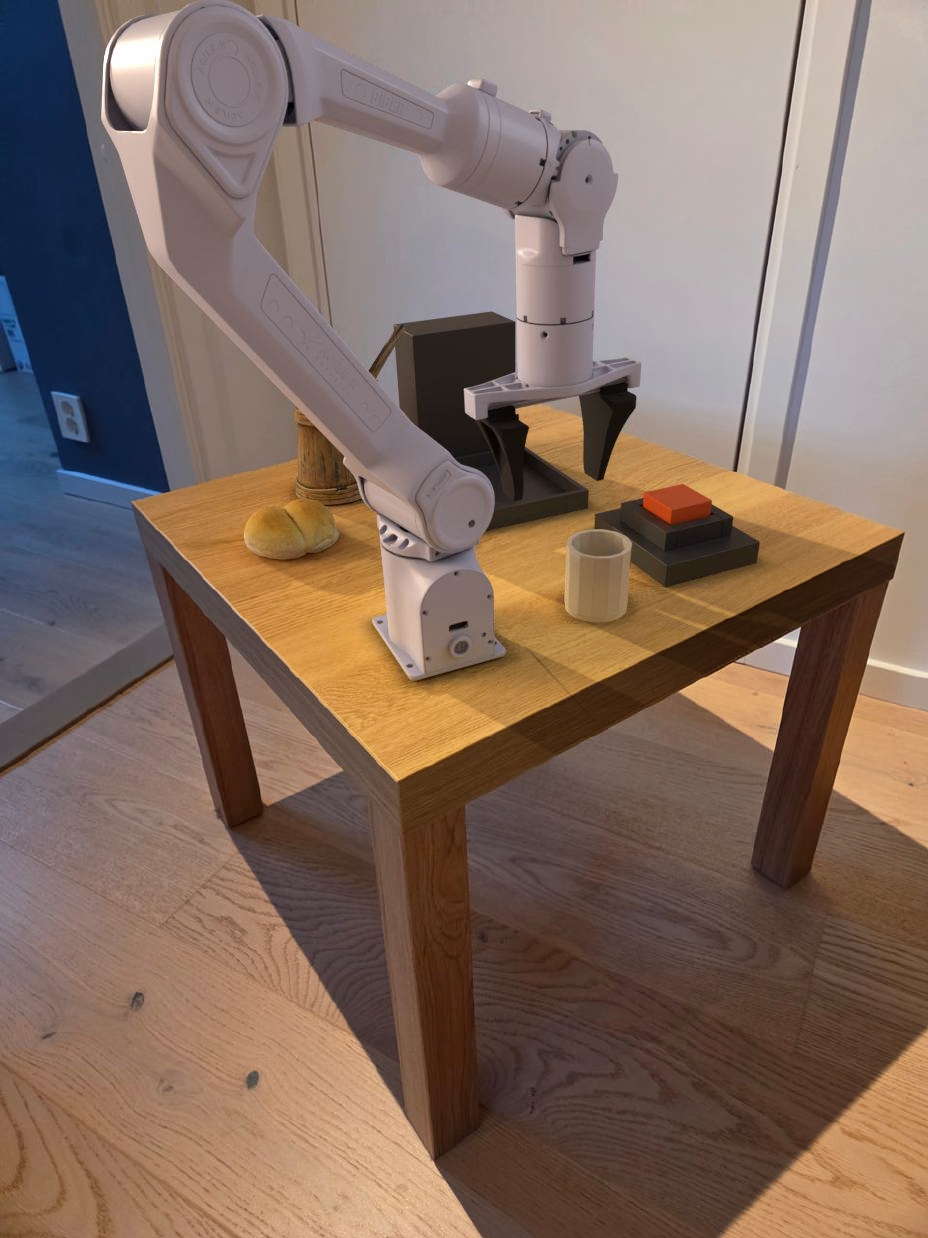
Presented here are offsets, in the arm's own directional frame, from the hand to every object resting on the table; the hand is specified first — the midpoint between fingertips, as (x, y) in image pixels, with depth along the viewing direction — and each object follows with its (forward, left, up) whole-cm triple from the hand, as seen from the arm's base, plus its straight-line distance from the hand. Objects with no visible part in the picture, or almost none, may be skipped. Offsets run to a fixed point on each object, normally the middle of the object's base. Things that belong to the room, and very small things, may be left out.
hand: (554, 486), depth 70 cm
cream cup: (-5, -2, -10) cm, 11 cm away
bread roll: (+19, +18, -10) cm, 28 cm away
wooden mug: (+29, +9, -10) cm, 32 cm away
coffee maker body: (+31, -5, -10) cm, 33 cm away
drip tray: (+20, -5, -10) cm, 23 cm away
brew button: (+1, -14, -6) cm, 15 cm away
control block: (+1, -14, -10) cm, 17 cm away
